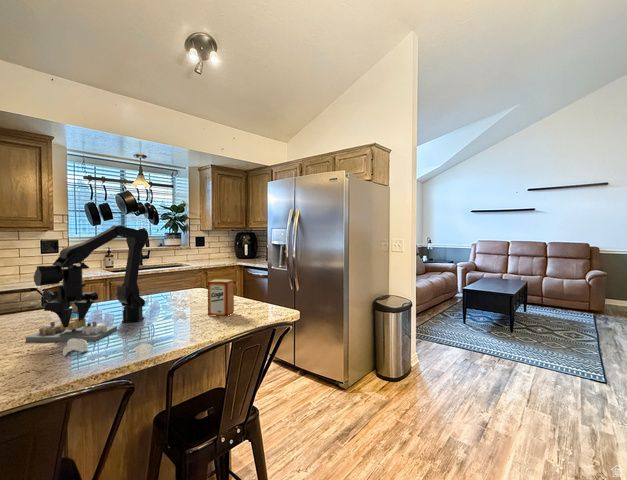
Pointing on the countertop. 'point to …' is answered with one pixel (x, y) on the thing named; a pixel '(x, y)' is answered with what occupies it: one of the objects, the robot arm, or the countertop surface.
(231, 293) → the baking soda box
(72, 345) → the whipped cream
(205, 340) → the countertop surface
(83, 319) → the brass gear
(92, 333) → the gear board
